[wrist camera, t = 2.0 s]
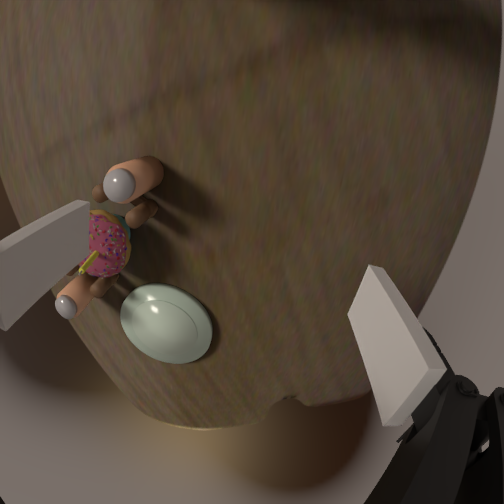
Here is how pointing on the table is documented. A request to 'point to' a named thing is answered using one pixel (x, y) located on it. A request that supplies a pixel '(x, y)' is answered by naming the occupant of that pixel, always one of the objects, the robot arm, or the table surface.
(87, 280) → the shaker
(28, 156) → the table surface
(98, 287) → the rack
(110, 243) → the cupcake
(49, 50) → the table surface
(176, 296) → the plate
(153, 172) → the shaker
